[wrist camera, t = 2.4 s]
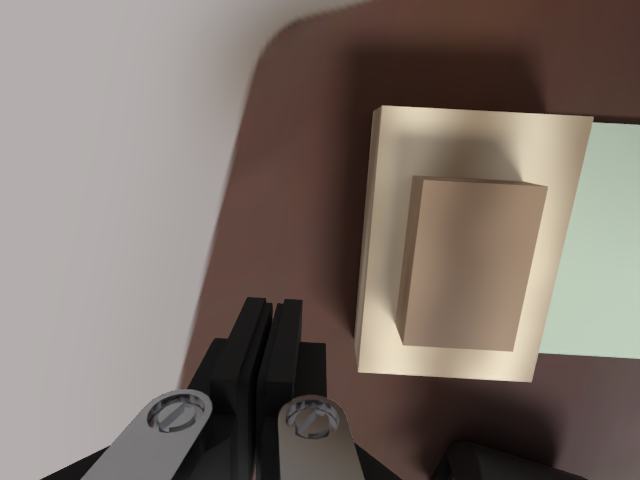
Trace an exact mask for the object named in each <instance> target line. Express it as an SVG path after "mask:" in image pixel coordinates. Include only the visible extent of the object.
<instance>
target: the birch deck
mask: <svg viewBox="0 0 640 480" xmlns="http://www.w3.org/2000/svg"><path fill="white" fill-rule="evenodd" d="M593 119H594V117H591V116H572V115H553V114H534V113H515V112H496V111H477V110H458V109H439V108H420V107H401V106H381V107H379V108H378V109H376V110H375V111H373V119H372V131H371V143H370V155H369V166H368V178H367V190H366V202H365V214H364V226H363V237H362V249H361V261H360V273H359V285H358V296H357V308H356V320H355V332H354V344H355V352H356V360H357V368H358V372H364V373H381V374H399V375H416V376H433V377H450V378H467V379H484V380H502V381H519V382H532V378H533V374H534V370H535V365H536V361H537V357H538V353H539V348H540V344H541V340H542V336H543V331H544V327H545V323H546V319H547V314H548V310H549V306H550V302H551V297H552V293H553V289H554V285H555V280H556V276H557V272H558V268H559V263H560V259H561V255H562V251H563V246H564V242H565V238H566V234H567V229H568V225H569V221H570V217H571V212H572V208H573V204H574V200H575V195H576V191H577V187H578V183H579V178H580V174H581V170H582V166H583V161H584V157H585V153H586V149H587V144H588V140H589V136H590V132H591V127H592V123H593ZM413 175H415V176H434V177H452V178H471V179H489V180H508V181H524V182H528V183H533V184H538V185H543V186H548V190H547V195H546V200H545V204H544V209H543V214H542V218H541V223H540V228H539V232H538V237H537V242H536V246H535V251H534V256H533V260H532V265H531V270H530V274H529V279H528V284H527V288H526V293H525V298H524V302H523V307H522V312H521V316H520V321H519V326H518V330H517V335H516V340H515V344H514V349H513V352H509V351H492V350H474V349H457V348H439V347H422V346H405V345H403V344H402V341H401V338H400V336H399V333H398V330H397V327H396V325H395V323H396V314H397V305H398V297H399V288H400V280H401V271H402V263H403V254H404V245H405V237H406V228H407V220H408V211H409V202H410V194H411V185H412V177H413Z"/></svg>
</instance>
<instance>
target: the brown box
mask: <svg viewBox="0 0 640 480" xmlns="http://www.w3.org/2000/svg"><path fill="white" fill-rule="evenodd" d="M547 190H548V186H543V185H538V184H533V183H528V182H524V181H508V180H489V179H471V178H452V177H434V176H415V175H413V177H412V185H411V194H410V202H409V211H408V220H407V228H406V237H405V245H404V254H403V263H402V271H401V280H400V288H399V297H398V305H397V314H396V323H395V325H396V327H397V330H398V333H399V336H400V338H401V341H402V344H403V345H405V346H422V347H439V348H457V349H474V350H492V351H509V352H513V349H514V344H515V340H516V335H517V330H518V326H519V321H520V316H521V312H522V307H523V302H524V298H525V293H526V288H527V284H528V279H529V274H530V270H531V265H532V260H533V256H534V251H535V246H536V242H537V237H538V232H539V228H540V223H541V218H542V214H543V209H544V204H545V200H546V195H547Z"/></svg>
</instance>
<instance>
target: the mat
mask: <svg viewBox="0 0 640 480" xmlns="http://www.w3.org/2000/svg"><path fill="white" fill-rule="evenodd" d="M539 353H552V354H569V355H586V356H604V357H621V358H638V359H640V125H633V124H614V123H595V122H593V123H592V127H591V132H590V136H589V140H588V144H587V149H586V153H585V157H584V161H583V166H582V170H581V174H580V178H579V183H578V187H577V191H576V195H575V200H574V204H573V208H572V212H571V217H570V221H569V225H568V229H567V234H566V238H565V242H564V246H563V251H562V255H561V259H560V263H559V268H558V272H557V276H556V280H555V285H554V289H553V293H552V297H551V302H550V306H549V310H548V314H547V319H546V323H545V327H544V331H543V336H542V340H541V344H540V348H539Z"/></svg>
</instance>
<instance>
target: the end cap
mask: <svg viewBox="0 0 640 480" xmlns="http://www.w3.org/2000/svg"><path fill="white" fill-rule="evenodd" d="M431 480H587V479H585V478H583V477H581V476H578V475H575V474H571V473H568V472H565V471H562V470H559V469H555V468H552V467H549V466H546V465H543V464H539V463H536V462H533V461H530V460H527V459H523V458H520V457H517V456H514V455H511V454H508V453H504V452H501V451H498V450H495V449H492V448H488V447H485V446H482V445H479V444H476V443H472V442H469V441H465V440H461V441H457V442H455V443H452V444H451V445H450V446H449V447H448V449H447V450H446V452H445V454H444V456H443V458H442V459H441V461H440V463H439V465H438V467H437V469H436V470H435V472H434V474H433V476H432V478H431Z"/></svg>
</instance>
